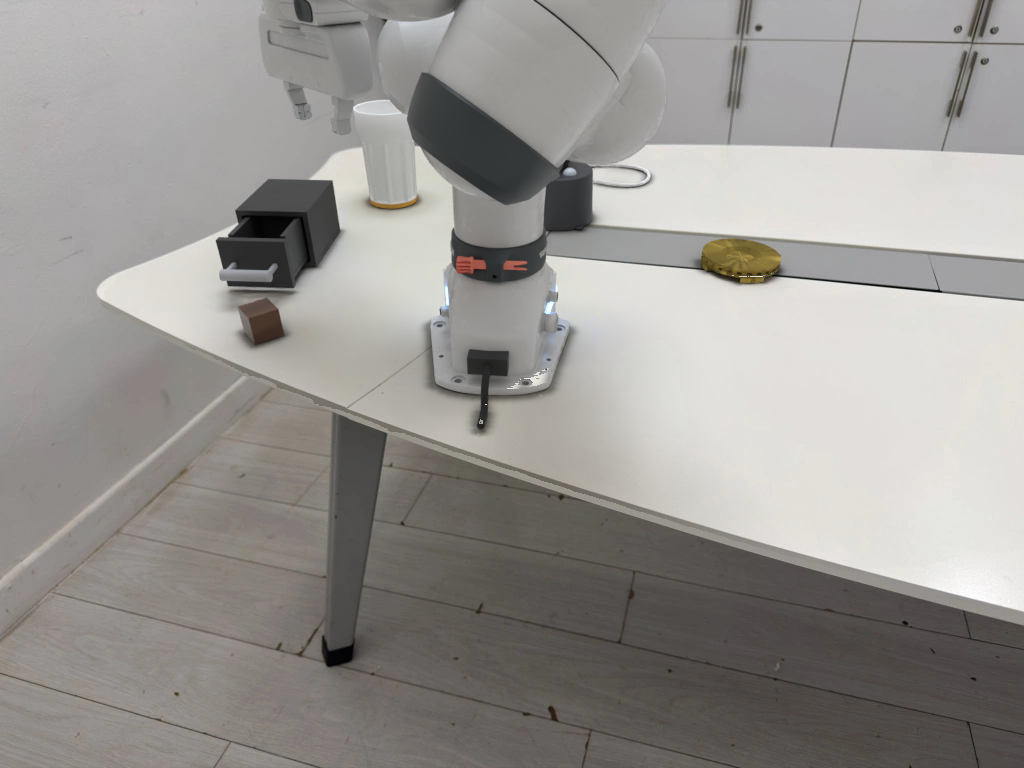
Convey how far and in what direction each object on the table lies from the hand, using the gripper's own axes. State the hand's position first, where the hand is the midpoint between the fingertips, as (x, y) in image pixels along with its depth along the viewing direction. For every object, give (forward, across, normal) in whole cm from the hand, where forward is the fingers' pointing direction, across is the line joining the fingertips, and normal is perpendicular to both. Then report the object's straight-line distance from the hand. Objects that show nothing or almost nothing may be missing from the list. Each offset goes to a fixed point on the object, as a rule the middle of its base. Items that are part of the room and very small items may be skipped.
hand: (322, 125), depth 84 cm
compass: (+24, +32, +52) cm, 66 cm away
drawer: (+24, -14, -5) cm, 28 cm away
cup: (+24, -30, +29) cm, 48 cm away
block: (+25, 0, -13) cm, 28 cm away
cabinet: (+24, -22, +4) cm, 33 cm away
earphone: (+24, -12, +71) cm, 76 cm away
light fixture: (+24, -2, +46) cm, 52 cm away
